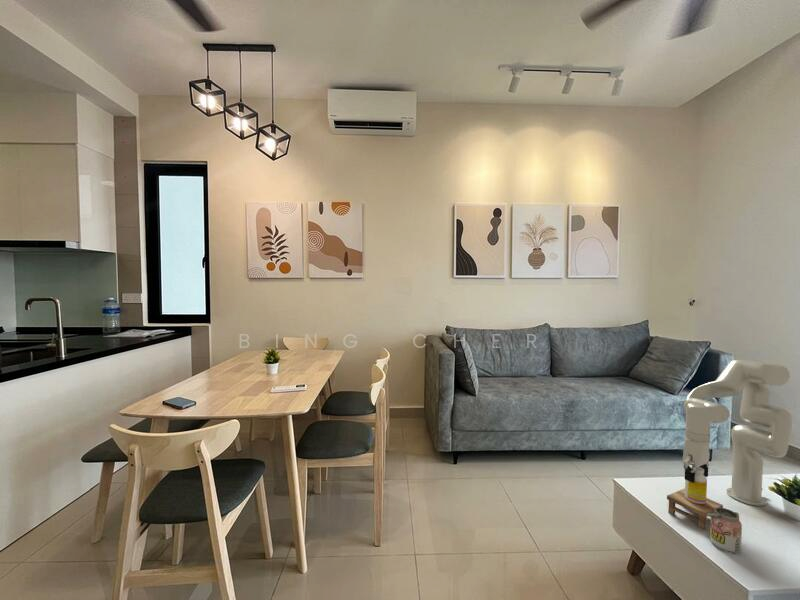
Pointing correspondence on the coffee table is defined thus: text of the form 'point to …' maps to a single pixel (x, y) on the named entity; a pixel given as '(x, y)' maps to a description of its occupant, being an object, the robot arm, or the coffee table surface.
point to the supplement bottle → (697, 487)
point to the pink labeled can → (725, 530)
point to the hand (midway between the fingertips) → (696, 478)
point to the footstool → (691, 507)
